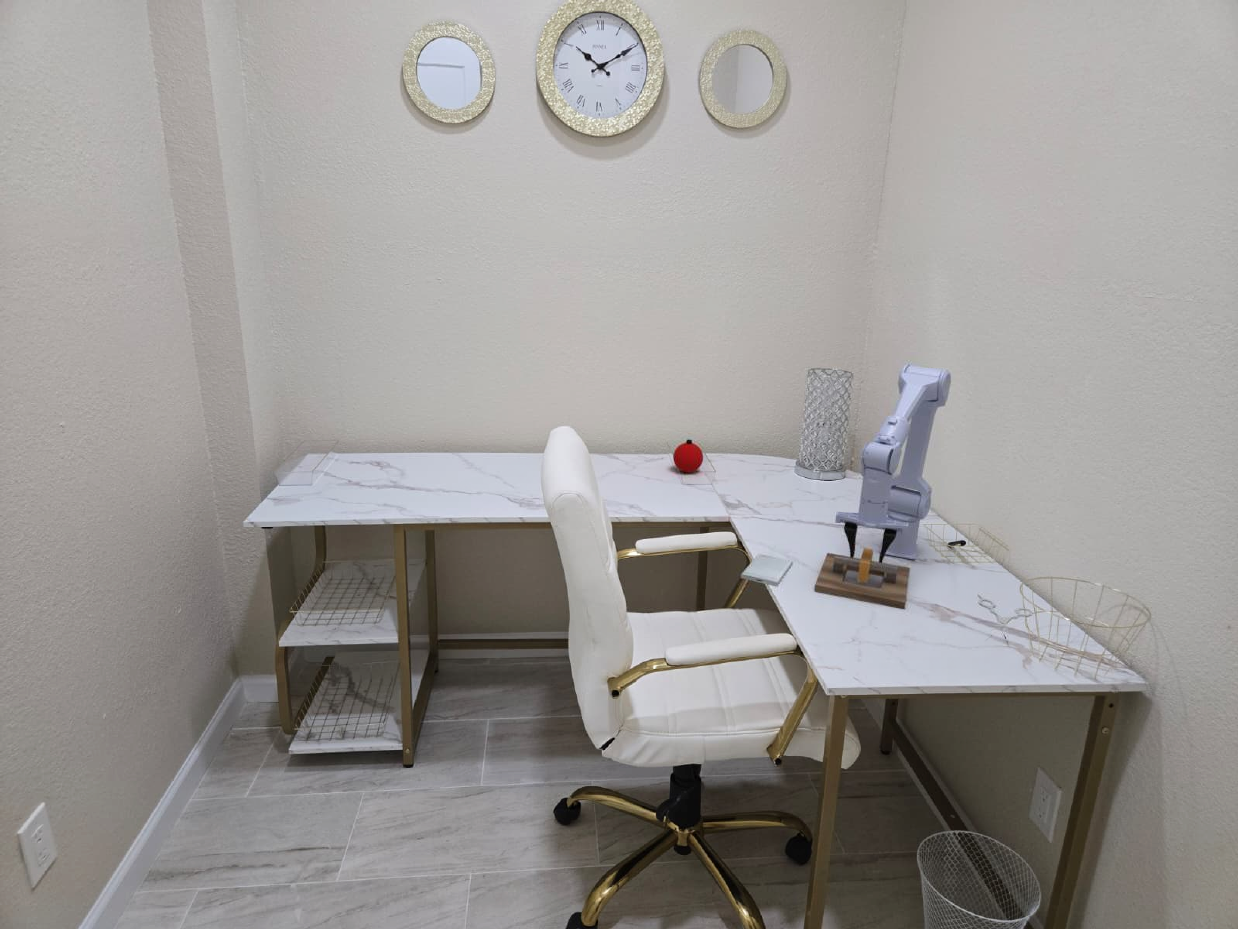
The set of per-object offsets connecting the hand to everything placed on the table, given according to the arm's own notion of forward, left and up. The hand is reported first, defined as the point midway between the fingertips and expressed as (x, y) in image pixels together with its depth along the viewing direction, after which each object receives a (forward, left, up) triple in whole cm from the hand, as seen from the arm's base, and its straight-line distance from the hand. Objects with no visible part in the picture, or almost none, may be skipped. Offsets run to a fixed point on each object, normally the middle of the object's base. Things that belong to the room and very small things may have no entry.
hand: (866, 558), depth 170 cm
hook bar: (0, 0, -4) cm, 4 cm away
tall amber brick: (0, 0, -4) cm, 4 cm away
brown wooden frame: (0, 0, -6) cm, 6 cm away
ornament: (-55, -57, -6) cm, 79 cm away
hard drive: (+4, -20, -6) cm, 21 cm away
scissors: (+6, +27, -6) cm, 28 cm away
